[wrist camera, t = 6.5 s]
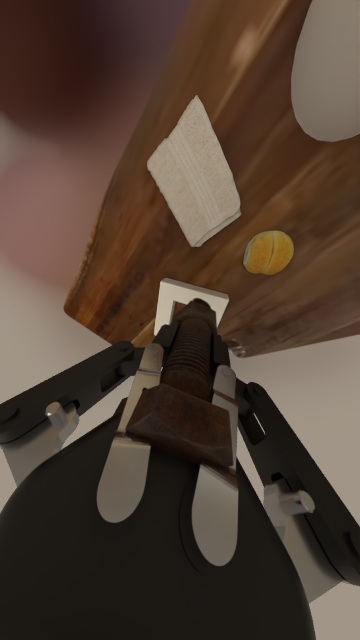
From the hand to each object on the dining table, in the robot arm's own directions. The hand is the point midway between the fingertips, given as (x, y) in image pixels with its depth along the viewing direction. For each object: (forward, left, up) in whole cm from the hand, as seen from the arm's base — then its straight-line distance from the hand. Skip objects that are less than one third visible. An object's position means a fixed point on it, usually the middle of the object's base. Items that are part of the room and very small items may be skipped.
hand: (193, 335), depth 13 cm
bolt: (0, 0, -6) cm, 6 cm away
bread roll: (-11, -8, -26) cm, 29 cm away
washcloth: (+7, -15, -26) cm, 31 cm away
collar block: (+2, +11, -26) cm, 28 cm away
